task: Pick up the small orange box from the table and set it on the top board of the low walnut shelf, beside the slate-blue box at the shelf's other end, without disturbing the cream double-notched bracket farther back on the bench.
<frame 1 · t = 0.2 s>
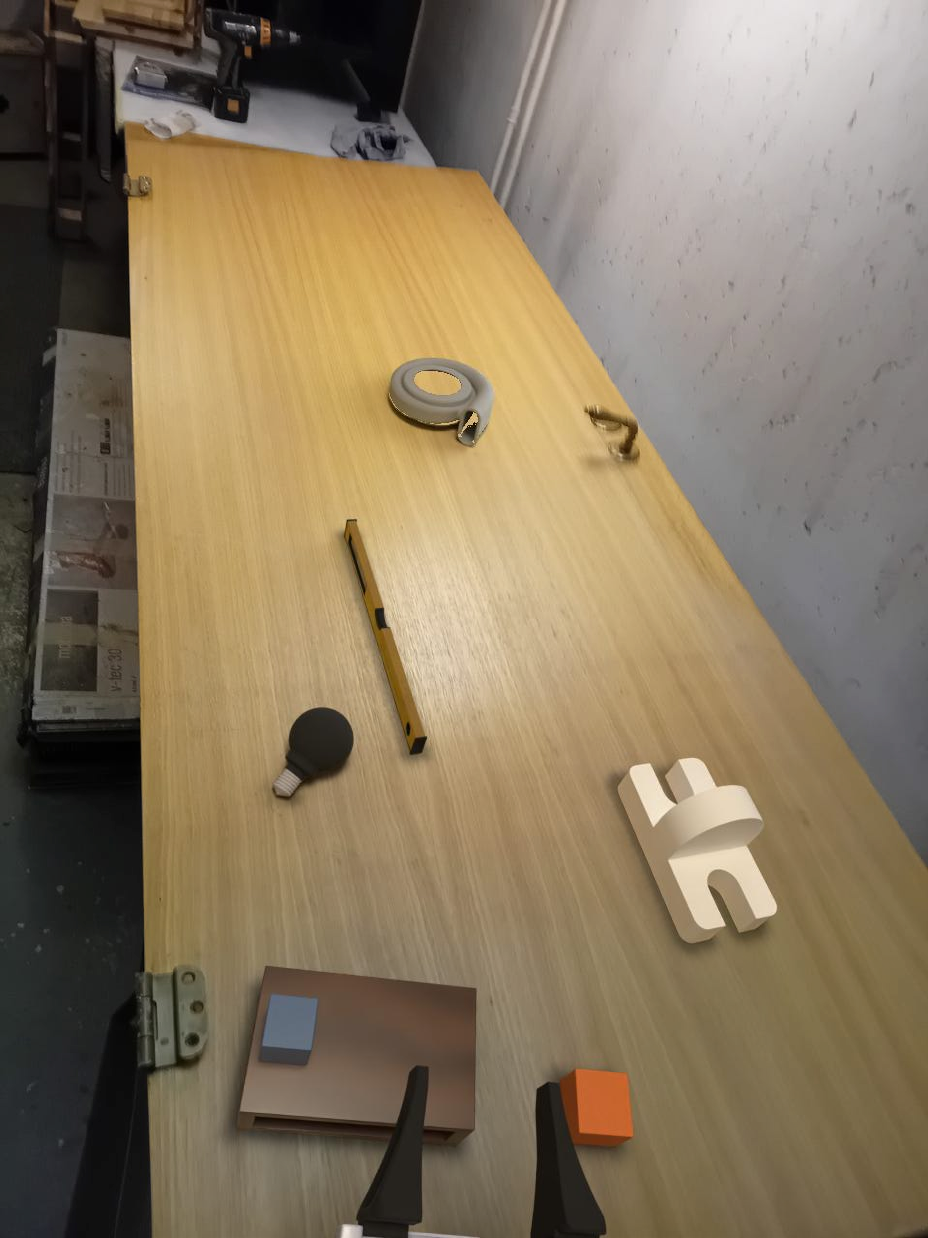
hand: (484, 1077, 47), 23 cm above the workbench, tool horizontal, fingers open, 7 cm apart
light bulb: (312, 766, 83), on the workbench
turbocharger housing: (439, 410, 131), on the workbench
orange box: (587, 1113, 68), on the workbench
blue box: (286, 1037, 61), point 6 cm above the workbench, touching shelf
spirit level: (378, 635, 97), on the workbench
cream double-notched bracket: (684, 853, 87), on the workbench
shelf: (356, 1065, 66), on the workbench
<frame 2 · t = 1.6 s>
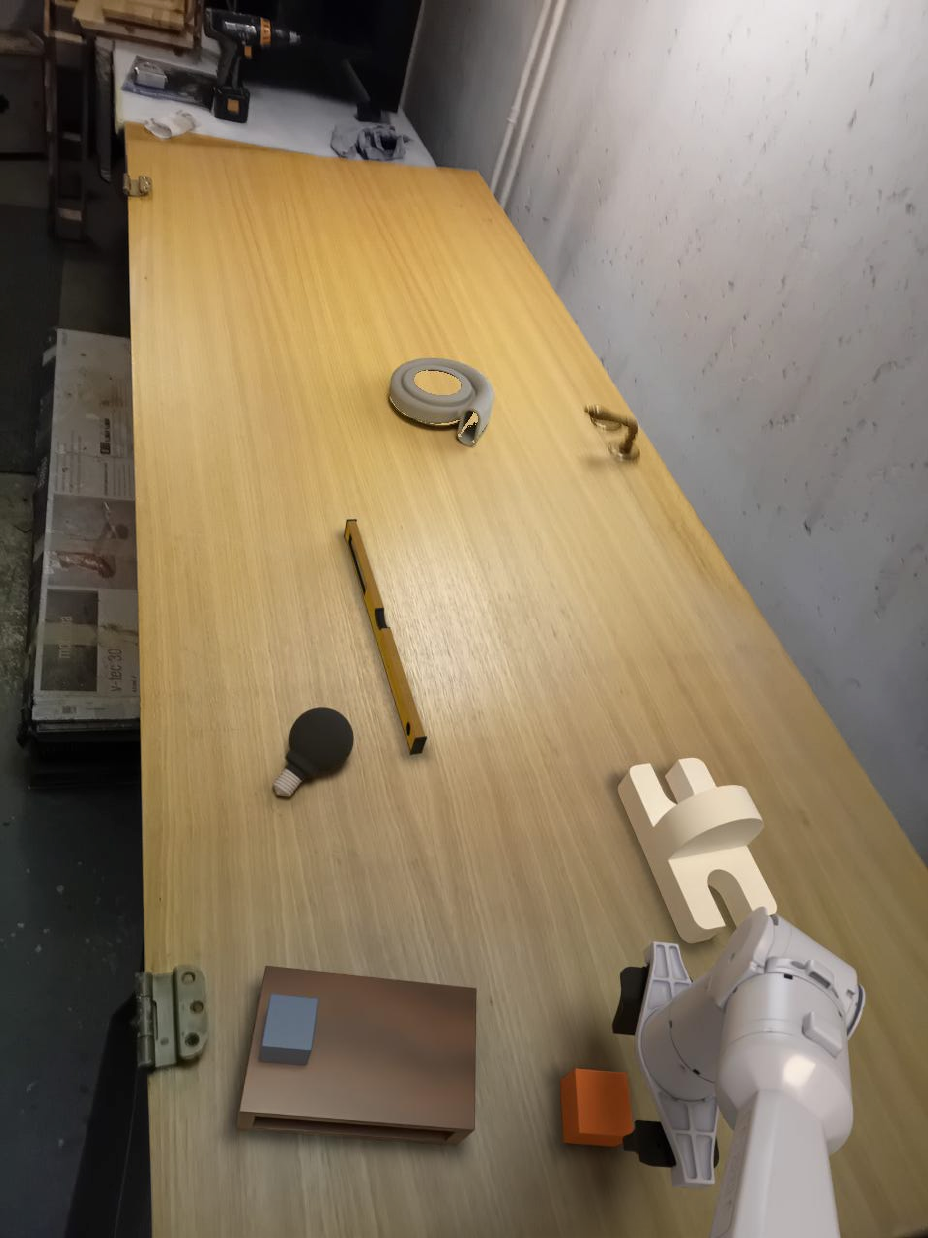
hand: (629, 1085, 61), 9 cm above the workbench, tool pointing down, fingers open, 7 cm apart
nothing on the workbench moved.
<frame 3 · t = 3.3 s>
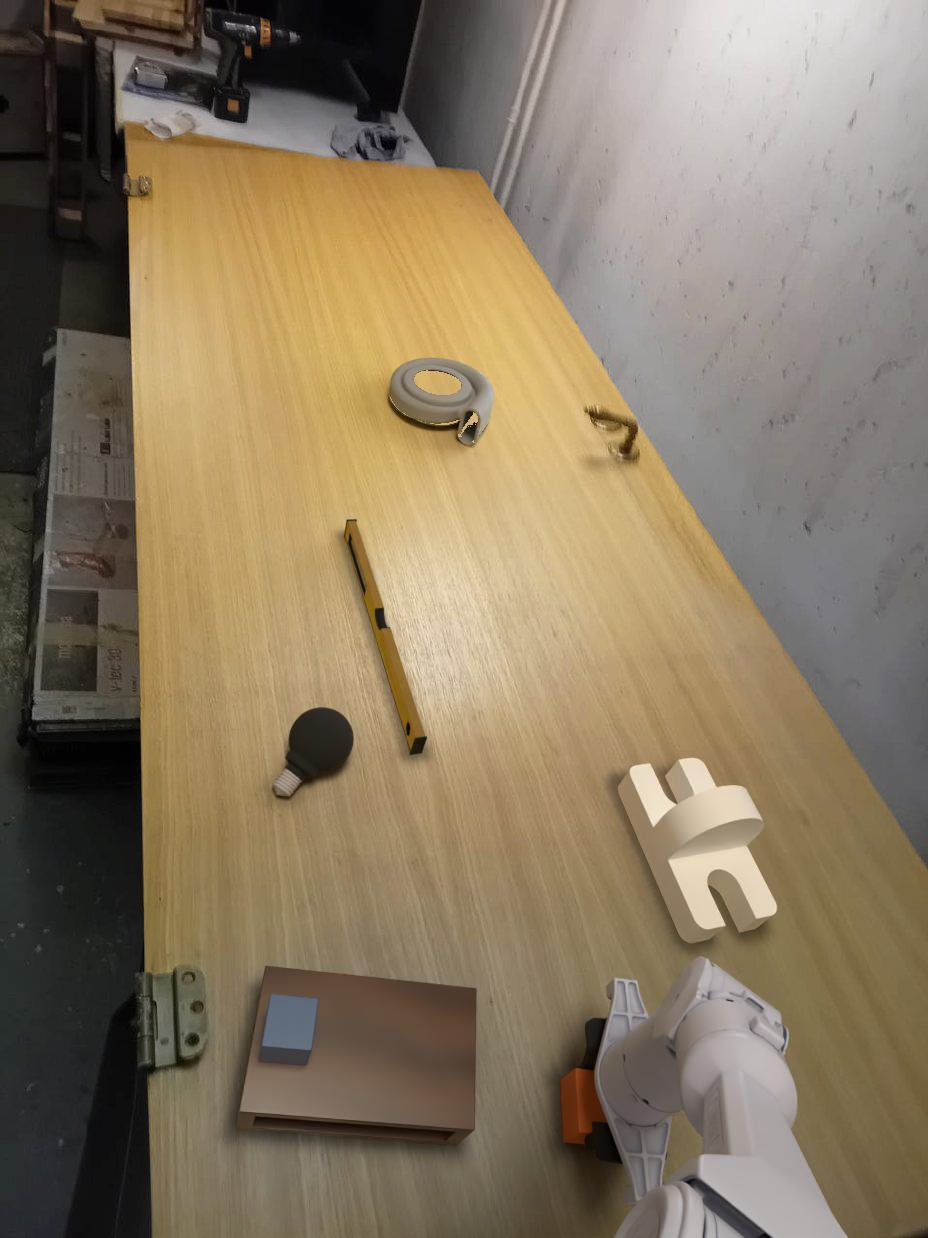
hand: (593, 1109, 67), 2 cm above the workbench, tool pointing down, fingers closed on orange box, 4 cm apart
orange box: (587, 1113, 68), on the workbench, touching gripper
everything else where it was.
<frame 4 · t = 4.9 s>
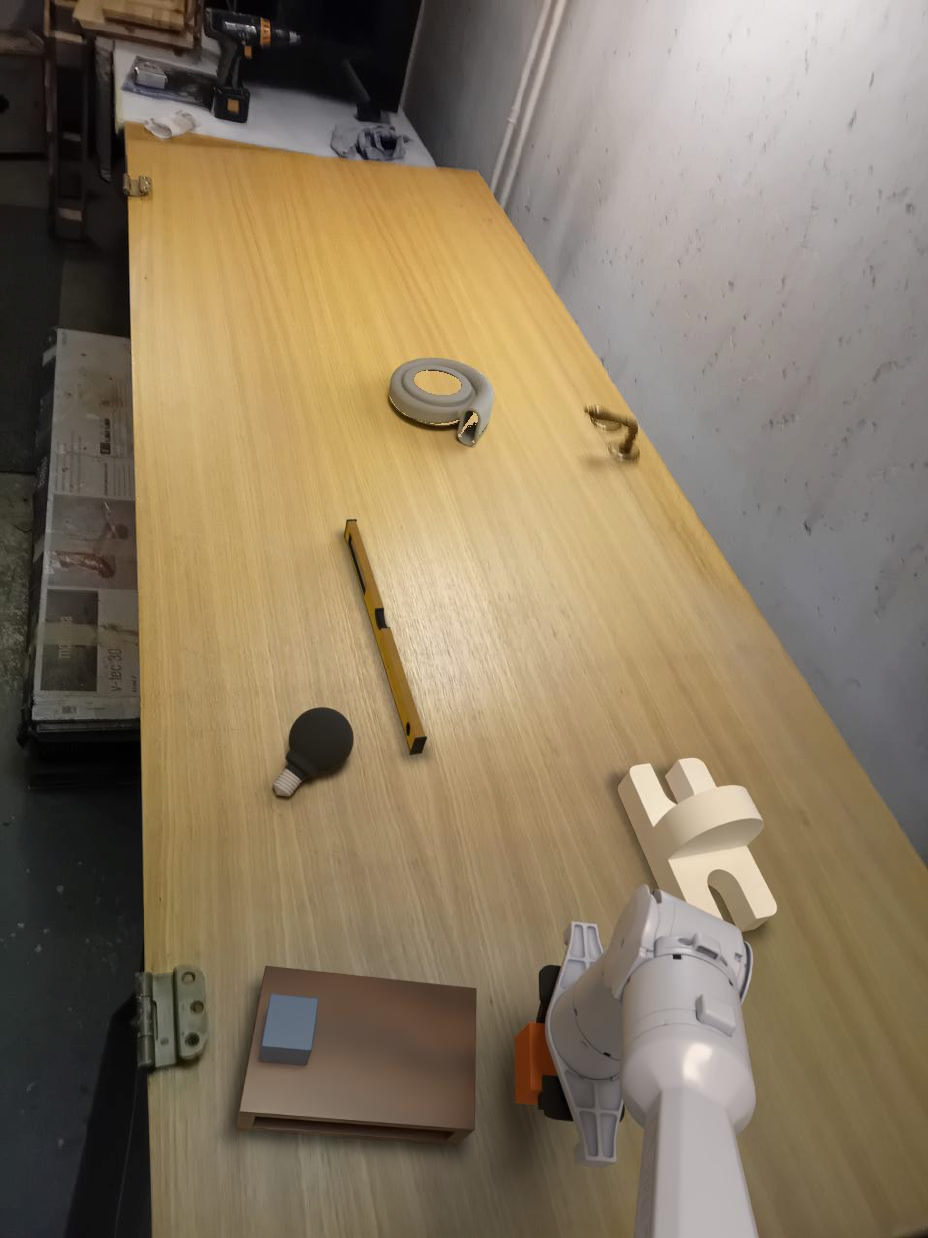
hand: (549, 1067, 60), 9 cm above the workbench, tool pointing down, fingers closed on orange box, 4 cm apart
orange box: (543, 1072, 62), point 8 cm above the workbench, touching gripper
everything else where it was.
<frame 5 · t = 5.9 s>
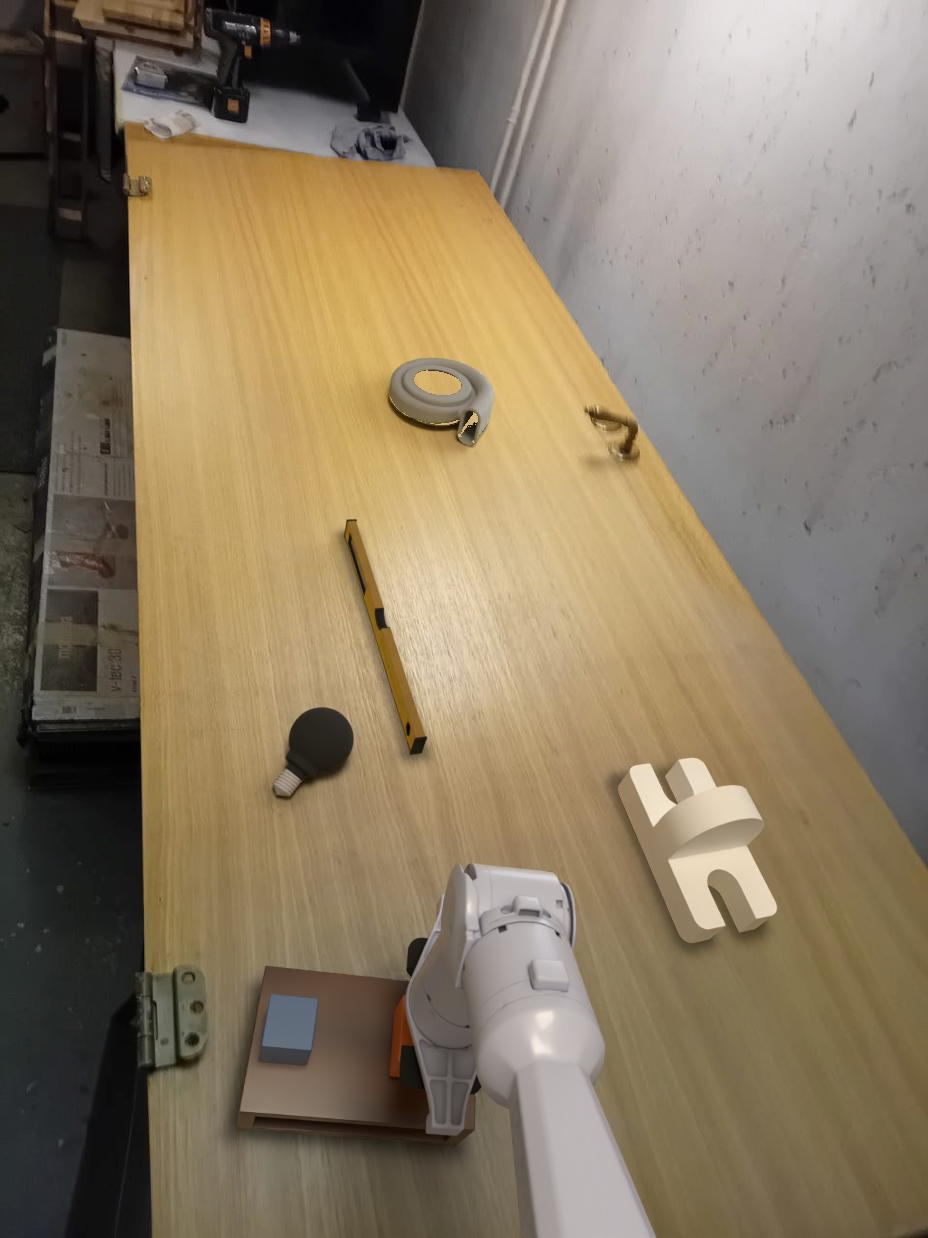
hand: (425, 1040, 61), 9 cm above the workbench, tool pointing down, fingers closed on orange box, 4 cm apart
orange box: (421, 1046, 62), point 7 cm above the workbench, touching gripper
everything else where it was.
when the fingers open (8 cm above the workbench, at t = 6.6 s): orange box stays where it is, resting on shelf.
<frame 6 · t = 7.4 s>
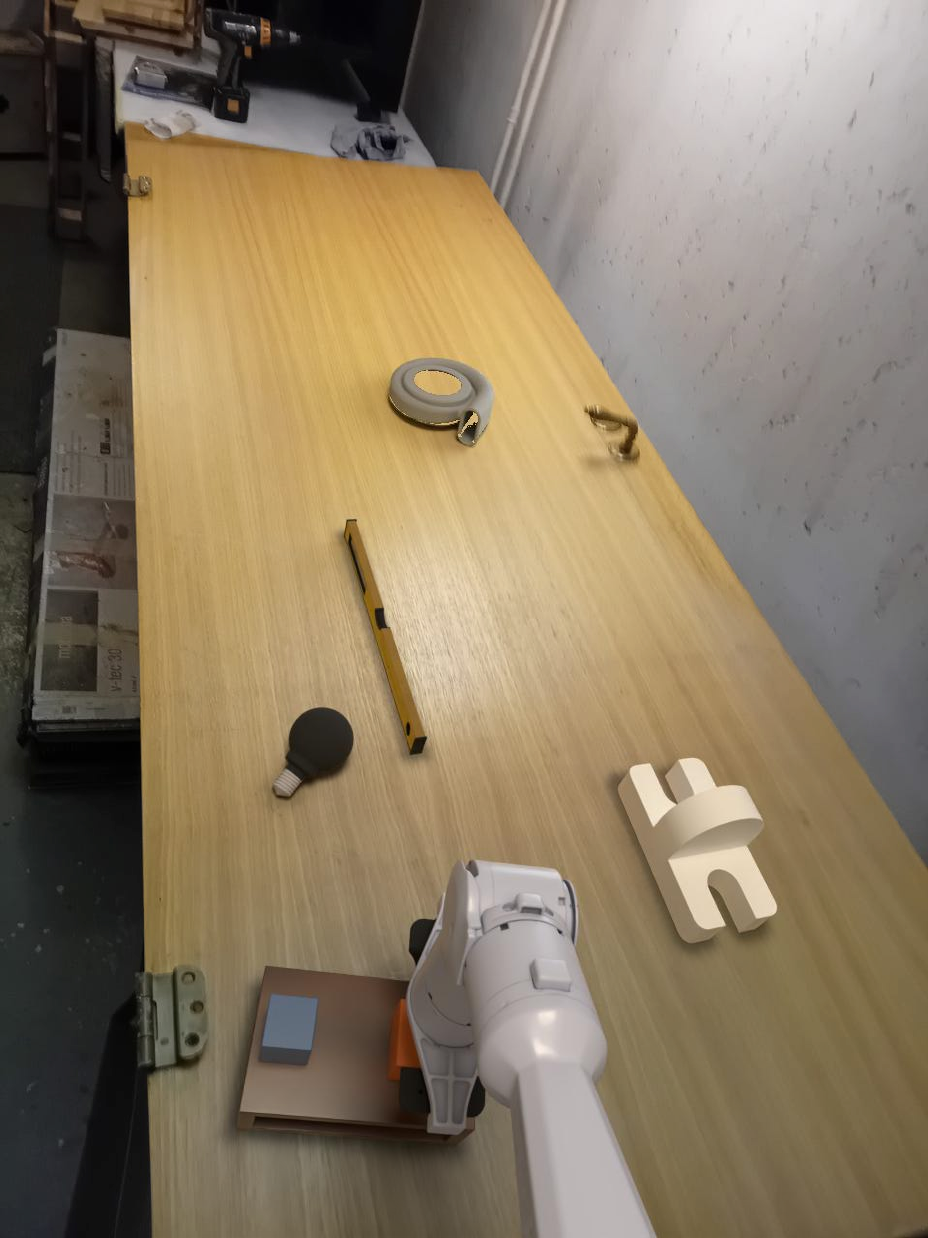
hand: (426, 1040, 60), 9 cm above the workbench, tool pointing down, fingers open, 7 cm apart
orange box: (418, 1049, 62), point 6 cm above the workbench, touching shelf
everything else where it was.
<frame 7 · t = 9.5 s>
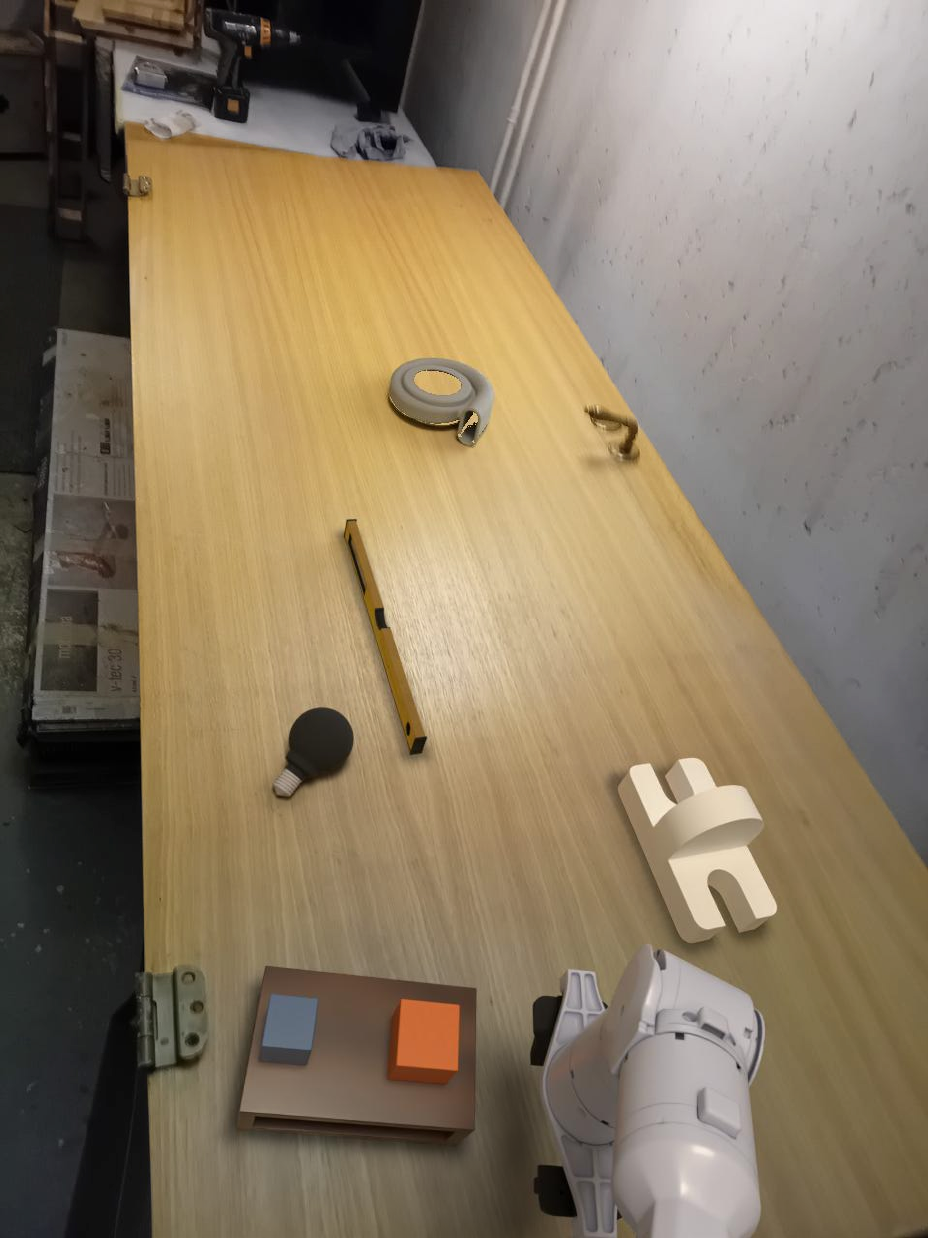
hand: (545, 1122, 57), 10 cm above the workbench, tool pointing down, fingers open, 7 cm apart
nothing on the workbench moved.
at the end: orange box inside the target area on the shelf (0.3 cm from its centre), point 6.0 cm above the shelf's base; blue box moved 0.0 cm from its start; cream double-notched bracket moved 0.2 cm from its start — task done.
